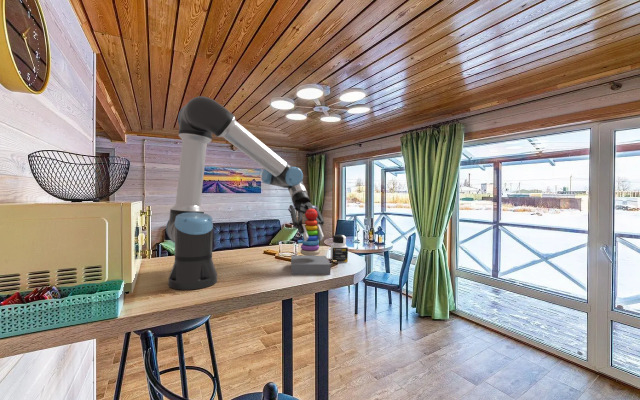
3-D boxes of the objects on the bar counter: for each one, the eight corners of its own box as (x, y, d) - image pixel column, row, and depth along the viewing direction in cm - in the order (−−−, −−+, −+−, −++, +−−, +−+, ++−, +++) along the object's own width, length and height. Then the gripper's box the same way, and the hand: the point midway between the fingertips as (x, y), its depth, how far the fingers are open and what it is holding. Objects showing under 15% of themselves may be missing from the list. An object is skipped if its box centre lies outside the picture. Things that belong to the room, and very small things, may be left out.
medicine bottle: (332, 262, 132) (332, 236, 132) (330, 258, 139) (331, 233, 139) (347, 262, 133) (348, 236, 133) (345, 258, 140) (345, 234, 140)
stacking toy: (319, 256, 115) (320, 209, 115) (299, 256, 116) (300, 209, 115) (319, 252, 123) (320, 208, 123) (301, 251, 124) (301, 207, 123)
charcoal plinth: (291, 274, 111) (291, 264, 111) (290, 264, 126) (291, 255, 126) (330, 274, 113) (330, 264, 113) (325, 264, 128) (325, 255, 128)
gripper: (316, 202, 137) (331, 242, 123) (277, 202, 128) (289, 245, 114) (321, 191, 132) (338, 232, 118) (281, 190, 123) (294, 234, 109)
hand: (314, 238), depth 116 cm, fingers closed on stacking toy, 6 cm apart
